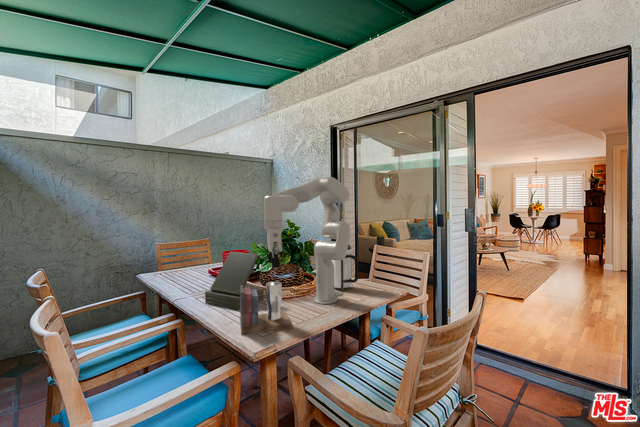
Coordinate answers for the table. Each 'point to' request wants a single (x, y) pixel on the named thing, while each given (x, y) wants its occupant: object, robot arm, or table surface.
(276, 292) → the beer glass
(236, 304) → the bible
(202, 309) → the table surface
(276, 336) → the table surface
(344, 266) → the coffee press
